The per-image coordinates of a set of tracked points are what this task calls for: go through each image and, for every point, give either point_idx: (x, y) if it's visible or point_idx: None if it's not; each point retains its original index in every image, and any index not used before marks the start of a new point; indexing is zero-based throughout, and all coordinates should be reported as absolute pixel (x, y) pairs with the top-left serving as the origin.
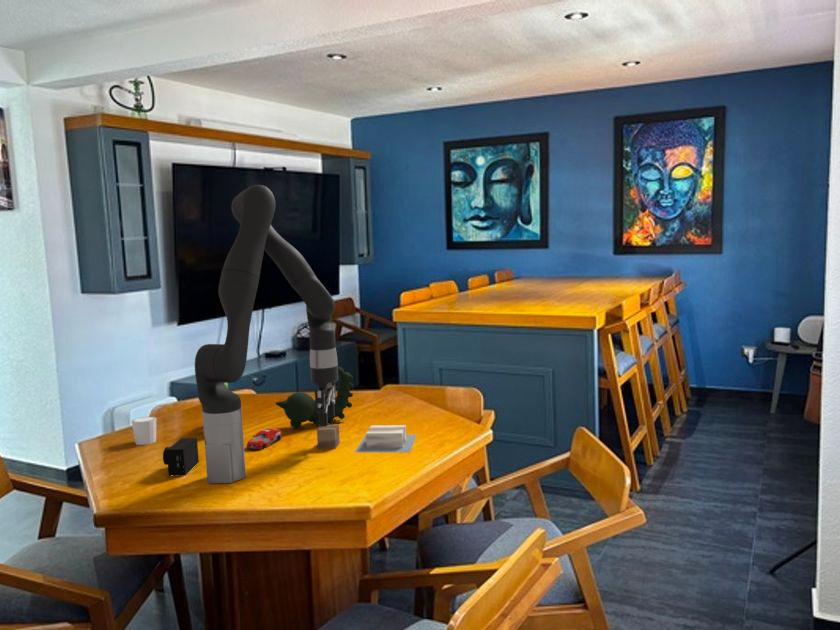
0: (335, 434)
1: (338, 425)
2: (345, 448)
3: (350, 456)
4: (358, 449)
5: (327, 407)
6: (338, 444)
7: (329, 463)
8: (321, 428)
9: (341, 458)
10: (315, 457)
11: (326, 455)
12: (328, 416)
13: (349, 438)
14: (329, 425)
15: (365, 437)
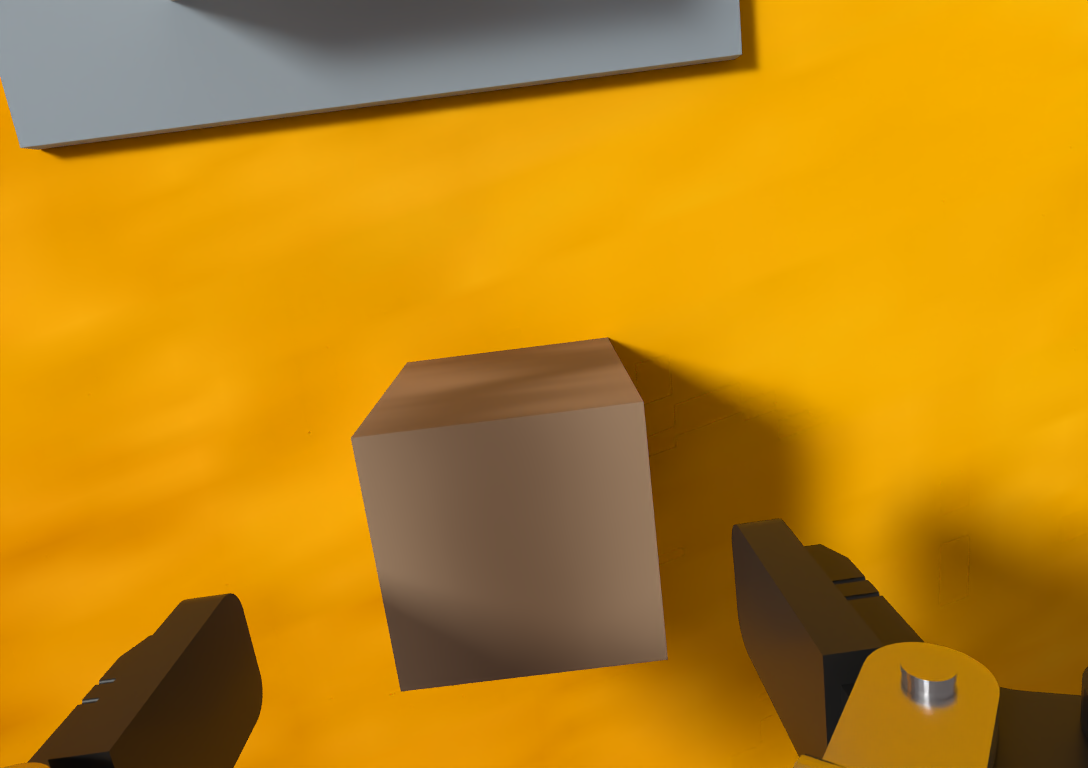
0: (599, 383)
1: (380, 431)
2: (520, 253)
3: (807, 87)
4: (633, 38)
5: (838, 735)
6: (467, 360)
7: (1049, 245)
8: (606, 616)
9: (881, 171)
10: (851, 464)
11: (782, 376)
12: (250, 688)
13: (137, 341)
14: (429, 561)
15: (121, 116)
